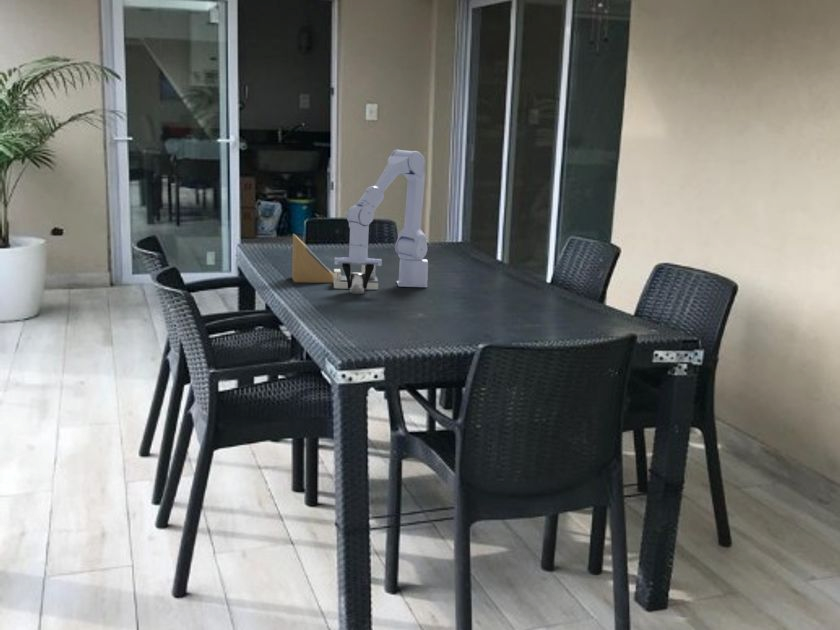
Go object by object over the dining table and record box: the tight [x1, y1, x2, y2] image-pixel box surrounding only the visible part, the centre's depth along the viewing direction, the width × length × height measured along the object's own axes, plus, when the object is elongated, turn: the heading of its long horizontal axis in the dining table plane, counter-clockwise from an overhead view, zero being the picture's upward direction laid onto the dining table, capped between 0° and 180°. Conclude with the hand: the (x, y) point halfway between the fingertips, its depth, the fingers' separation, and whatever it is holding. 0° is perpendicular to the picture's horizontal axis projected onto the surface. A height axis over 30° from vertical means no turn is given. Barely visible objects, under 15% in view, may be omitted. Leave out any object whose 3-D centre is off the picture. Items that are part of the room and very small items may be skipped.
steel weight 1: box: [349, 271, 365, 295], centre depth 272 cm, size 4×4×6 cm
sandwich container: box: [291, 233, 334, 283], centre depth 287 cm, size 9×15×15 cm, turn 104°
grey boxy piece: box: [332, 268, 379, 290], centre depth 281 cm, size 14×9×5 cm, turn 97°
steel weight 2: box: [361, 265, 376, 280], centre depth 281 cm, size 4×4×6 cm
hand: (357, 287), depth 272 cm, fingers closed on steel weight 1, 4 cm apart
